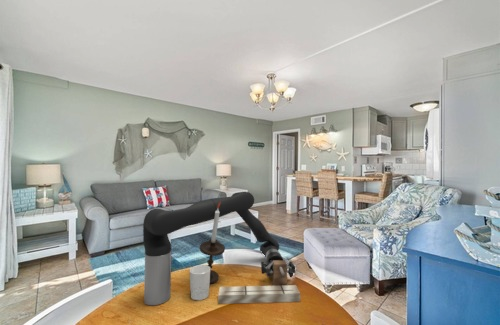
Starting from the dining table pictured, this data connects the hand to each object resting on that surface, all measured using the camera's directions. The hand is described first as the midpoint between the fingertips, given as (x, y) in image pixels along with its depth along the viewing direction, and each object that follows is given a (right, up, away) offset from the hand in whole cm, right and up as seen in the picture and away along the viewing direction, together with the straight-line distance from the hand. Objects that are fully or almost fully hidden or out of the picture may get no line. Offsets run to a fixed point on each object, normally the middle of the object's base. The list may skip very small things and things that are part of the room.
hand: (280, 275), depth 89 cm
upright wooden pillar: (0, -7, -1) cm, 7 cm away
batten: (-9, -6, -4) cm, 12 cm away
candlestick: (-31, -6, +10) cm, 33 cm away
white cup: (-32, -7, -3) cm, 32 cm away
